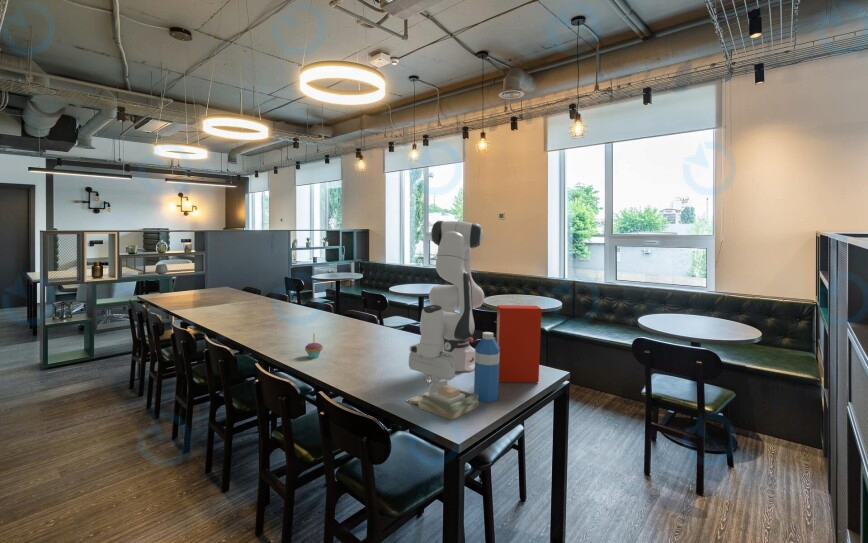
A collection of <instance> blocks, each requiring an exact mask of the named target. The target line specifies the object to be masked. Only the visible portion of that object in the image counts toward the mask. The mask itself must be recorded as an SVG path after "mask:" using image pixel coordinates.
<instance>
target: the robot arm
mask: <svg viewBox="0 0 868 543" xmlns="http://www.w3.org/2000/svg"><path fill="white" fill-rule="evenodd" d="M430 231H431V232H430V235H431V240H432V242H433V243H434V244H435V245H436V246H438V248H437V254H436V260H435V271H436V273H437V274H438V275H439V277H440V278H442V279H443V280H445V281H446V282H448V283H450V284H441V285H435V286H433V287H432V288H431V289H430V291H429V293H428V300H429V302H430V304H429V305H426V306H424V307H423V308H422V310H421V315H420V324H419V325H420V326H419V331H420V339H419V343H416V344H413V345H410V346H409V354H408V355H409V356H408V367H409V369H410V370H412V371H416V372H419V373H422V374H424V375H423V377H424V378H425V381H426V386H427V387H428V386H429V384H431V383H434V382H437V380H438V379H441V380H444V379H445V380H447V381H451V380H453V379H455V377H456V372H457V373H459V372H467V373H470V372H473V371H475V348H474V347H472V346H471V345H470V343H473V342H474V338H473V335H474V333H475V328H476V327H475V319H474V318H475V317H474V310H473V309H477V308H481V306H482V305H483V304H484V302H485V293H484V291H483V289H482V288H481V287H480V286H479V285H478V284H477V283H476V282H475V281H474V279H473V276H472V272H471V271H472V270H471V267H472V266H471V265H472V264H471V263H472V262H471V261H472V249H475V248H478V247H479V246H480V245H481V243H482V242H483V238H484V231H483V227H482V226H481V224H480V223H476V222H468V221H462V220H458V221H456V220H454V221H452V220H449V221H448V220H447V221H444V220H439V221H438V220H437V221H436V222H435V223H434V224H433V225H432V227H431V230H430ZM457 309H459V310H460V311H459V312H455V310H457Z"/></svg>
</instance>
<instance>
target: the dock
mask: <svg viewBox="0 0 868 543" xmlns="http://www.w3.org/2000/svg"><path fill="white" fill-rule="evenodd" d="M427 392H428V393H426V392H424V393H425V394H423V393H422V394H423V395H421V394H419V395H420V396H418V395H417V396H418V397H416V396H414V397H415V398H413V397H412V398H413V399H411V398H409V399H410V400H408V399H407V400H408V402H407V403H409V402H411V403H413V404H412V405H417V406H418V407H420V408H419V409H421V408H422V409H421V410H423V409H425V410H424V411H426V410H427V411H426V412H428V411H430V412H429V413H431V412H432V413H431V414H433V413H435V414H434V415H436V414H437V415H436V416H439V415H440V416H439V417H441V416H442V417H441V418H444V417H445V418H444V419H446V418H447V420H450V421H452V420H455V419H457V418H458V417H460V416H462V415H464V414H466V413H469V412H470V411H472V410H474V409H477V408H478V407H479V406H480V401H478V395H477V394H474V393H472V392H468V391H465V390H462V389H460V393H462V394H465V399H462V400H460V401H458V402H456V403H454V404H451V405H450V404H449V403H446V402H443V401H440V400H437V399H435V398H432V397H429V391H427ZM411 403H410V404H411Z"/></svg>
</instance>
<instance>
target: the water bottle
mask: <svg viewBox="0 0 868 543" xmlns="http://www.w3.org/2000/svg"><path fill="white" fill-rule="evenodd" d="M481 337H482V338H481V340H480V341H479V342H478V343H477V344H476V346H475V347H474V349H475V369H474V383H473V384H474V385H473V387H474V388H473V395H474V394H477V395H478V401H479V402H483V403H491V402H497V401H498V399H499V388H500V387H499V357H500V347H499V346H498V344H497V343H496V339H494V332H491V331H484V332H482V336H481Z"/></svg>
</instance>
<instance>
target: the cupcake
mask: <svg viewBox="0 0 868 543" xmlns="http://www.w3.org/2000/svg"><path fill="white" fill-rule="evenodd" d="M315 335H316V334H315V333H313V335H312V336H313V337H312V338H313V339H312V342H309V343H307V345H306V346H305V347H304V348H305V349H304V350H305V351H306V353H307V355H308V358H309V359H316V358H319V357H320V354H321V352H322V351H323V350H324V348H323V345H322V343H318V342H316V341H315V339H316V336H315Z"/></svg>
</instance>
